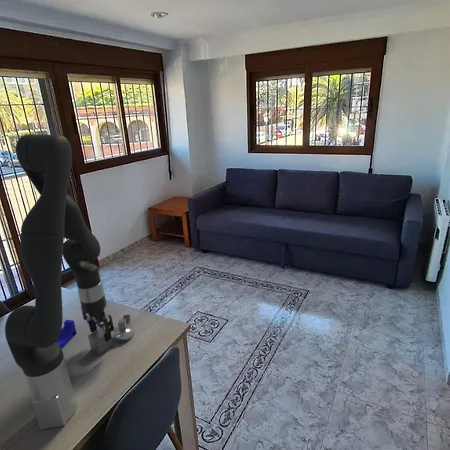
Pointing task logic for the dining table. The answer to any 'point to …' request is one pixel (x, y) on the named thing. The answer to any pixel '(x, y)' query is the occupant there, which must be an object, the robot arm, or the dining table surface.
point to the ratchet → (123, 330)
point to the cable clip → (66, 333)
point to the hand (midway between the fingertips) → (101, 335)
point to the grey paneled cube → (99, 342)
